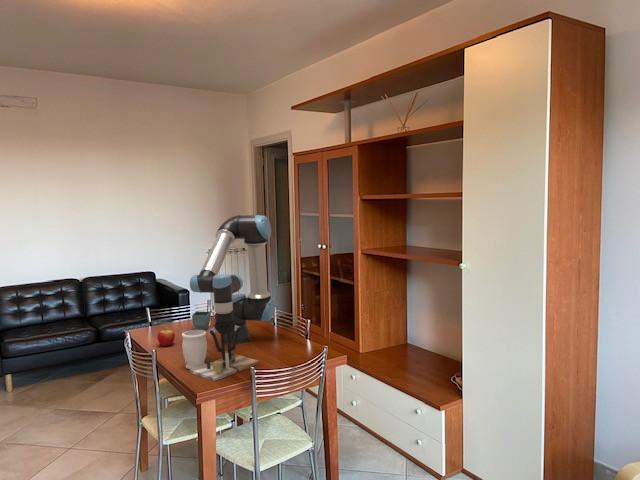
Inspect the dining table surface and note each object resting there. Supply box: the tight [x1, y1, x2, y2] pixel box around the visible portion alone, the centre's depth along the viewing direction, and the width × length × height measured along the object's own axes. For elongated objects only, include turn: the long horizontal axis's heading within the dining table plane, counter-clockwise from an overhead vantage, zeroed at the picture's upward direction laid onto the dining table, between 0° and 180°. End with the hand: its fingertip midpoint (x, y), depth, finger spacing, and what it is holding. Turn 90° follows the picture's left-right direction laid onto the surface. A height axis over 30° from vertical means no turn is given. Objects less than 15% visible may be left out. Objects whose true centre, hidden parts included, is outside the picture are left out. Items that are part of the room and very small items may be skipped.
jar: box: [181, 329, 208, 370], centre depth 210 cm, size 11×10×15 cm
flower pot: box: [191, 311, 212, 331], centre depth 270 cm, size 9×9×9 cm
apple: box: [156, 326, 176, 347], centre depth 240 cm, size 8×8×10 cm
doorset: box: [189, 353, 260, 382], centre depth 207 cm, size 16×25×6 cm, turn 142°
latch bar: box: [212, 353, 236, 372], centre depth 204 cm, size 16×4×4 cm, turn 165°
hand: (227, 367), depth 201 cm, fingers closed
